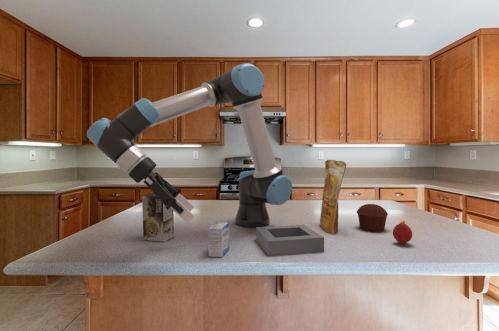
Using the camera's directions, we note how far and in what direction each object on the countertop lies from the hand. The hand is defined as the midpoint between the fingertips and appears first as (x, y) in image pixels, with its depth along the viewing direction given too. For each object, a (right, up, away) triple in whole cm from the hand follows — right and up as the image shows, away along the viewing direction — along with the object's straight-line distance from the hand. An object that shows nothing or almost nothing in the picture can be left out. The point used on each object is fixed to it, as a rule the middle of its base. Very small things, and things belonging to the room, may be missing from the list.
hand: (191, 214), depth 83 cm
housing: (+30, -12, +9) cm, 34 cm away
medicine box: (+8, -12, +3) cm, 15 cm away
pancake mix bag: (+50, -11, +30) cm, 60 cm away
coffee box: (-15, -12, +17) cm, 26 cm away
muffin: (+67, -11, +29) cm, 74 cm away
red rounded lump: (+69, -12, +10) cm, 71 cm away
